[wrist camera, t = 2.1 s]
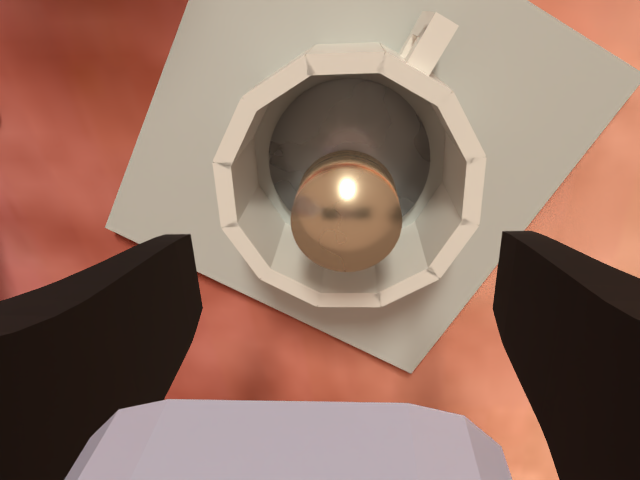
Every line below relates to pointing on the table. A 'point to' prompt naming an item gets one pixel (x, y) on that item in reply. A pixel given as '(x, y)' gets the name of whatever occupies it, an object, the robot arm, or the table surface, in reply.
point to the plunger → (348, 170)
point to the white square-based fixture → (437, 118)
